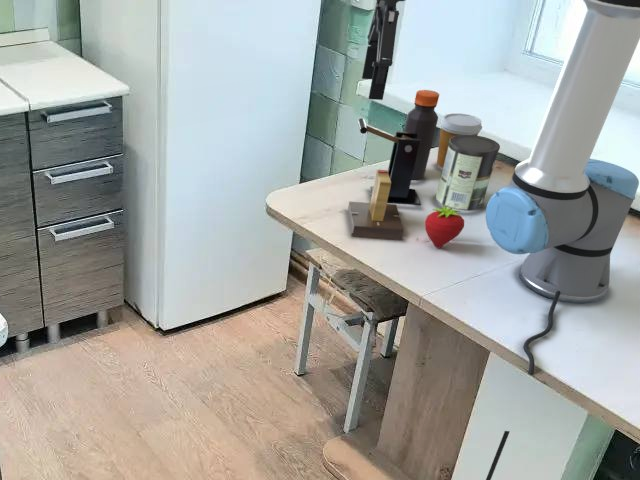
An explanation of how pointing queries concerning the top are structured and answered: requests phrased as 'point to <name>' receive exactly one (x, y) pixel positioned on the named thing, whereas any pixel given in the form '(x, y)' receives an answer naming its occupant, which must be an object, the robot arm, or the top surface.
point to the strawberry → (443, 226)
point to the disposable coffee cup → (455, 131)
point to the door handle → (377, 131)
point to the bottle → (423, 127)
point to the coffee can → (467, 171)
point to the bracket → (403, 169)
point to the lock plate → (375, 222)
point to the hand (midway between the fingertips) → (371, 88)
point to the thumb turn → (380, 195)
